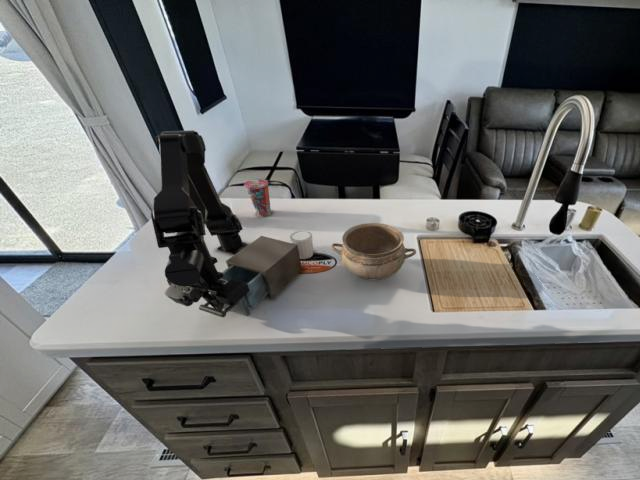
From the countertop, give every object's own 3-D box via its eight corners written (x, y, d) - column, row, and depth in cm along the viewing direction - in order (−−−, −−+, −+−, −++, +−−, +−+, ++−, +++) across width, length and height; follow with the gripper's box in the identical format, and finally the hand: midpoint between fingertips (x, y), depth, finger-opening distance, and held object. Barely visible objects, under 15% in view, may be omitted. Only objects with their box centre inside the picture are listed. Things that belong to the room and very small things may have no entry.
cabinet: (272, 298, 89) (264, 272, 83) (235, 287, 92) (225, 261, 86) (302, 270, 100) (297, 244, 94) (268, 260, 103) (261, 235, 97)
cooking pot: (326, 288, 94) (321, 252, 85) (340, 252, 108) (337, 219, 100) (413, 294, 93) (415, 259, 85) (415, 257, 107) (418, 224, 99)
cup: (251, 210, 128) (243, 180, 120) (274, 207, 131) (266, 177, 123) (253, 221, 122) (244, 190, 114) (277, 217, 125) (269, 186, 117)
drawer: (234, 329, 79) (224, 307, 74) (197, 317, 82) (185, 295, 77) (280, 286, 92) (274, 265, 87) (247, 276, 95) (240, 255, 90)
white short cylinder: (310, 261, 103) (306, 242, 99) (290, 258, 104) (285, 239, 100) (318, 250, 108) (315, 231, 104) (299, 247, 109) (295, 228, 105)
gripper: (129, 268, 67) (163, 321, 77) (200, 290, 62) (226, 344, 73) (175, 242, 75) (200, 294, 85) (240, 260, 70) (259, 312, 81)
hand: (220, 310), depth 81 cm, fingers closed, pressing on drawer
